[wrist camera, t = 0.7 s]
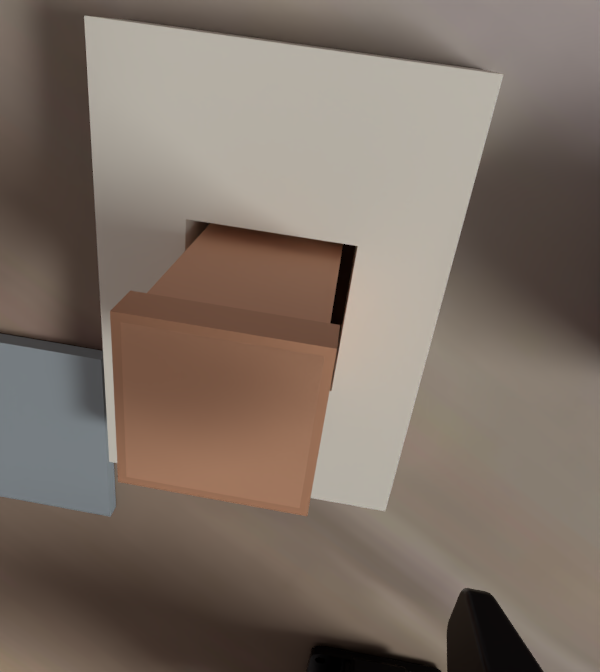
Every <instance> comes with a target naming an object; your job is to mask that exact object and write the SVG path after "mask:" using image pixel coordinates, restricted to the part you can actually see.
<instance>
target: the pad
mask: <svg viewBox="0 0 600 672" xmlns="http://www.w3.org/2000/svg"><path fill="white" fill-rule="evenodd" d="M0 496H2V497H7V498H12V499H18V500H23V501H29V502H34V503H40V504H45V505H50V506H56V507H61V508H67V509H72V510H78V511H83V512H88V513H94V514H99V515H105V516H111V514H112V513H113V511H114V509H115V507H116V497H115V478H114V463H113V462H109V449H108V431H107V413H106V395H105V378H104V360H103V351H101V350H95V349H89V348H83V347H77V346H71V345H65V344H60V343H54V342H48V341H42V340H36V339H30V338H24V337H18V336H12V335H7V334H1V333H0Z"/></svg>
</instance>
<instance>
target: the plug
mask: <svg viewBox="0 0 600 672" xmlns="http://www.w3.org/2000/svg"><path fill="white" fill-rule="evenodd" d="M342 247H343V244H341V243H335V242H328V241H322V240H316V239H309V238H303V237H297V236H290V235H284V234H278V233H271V232H265V231H258V230H252V229H246V228H239V227H233V226H227V225H220V224H214V223H210V224H209V225H208V226H207V227H206V229H205V230H204V231H203V232H202V233H201V234H200V235H199V236H198V237H197V238H196V240H195V241H194V242H193V243H192V244H191V245H190V246H189V247H188V248H187V249H186V251H185V252H184V253H183V254H182V255H181V256H180V257H179V258H178V259H177V260H176V262H175V263H174V264H173V265H172V266H171V267H170V268H169V269H168V270H167V271H166V273H165V274H164V275H163V276H162V277H161V278H160V279H159V280H158V281H157V282H156V284H155V285H154V286H153V287H152V288H151V289H150V290H149V291H148V292H147V293H142V292H136V291H129V292H128V293H127V294H126V295H125V296H124V297H123V298H122V299H121V300H120V301H119V302H118V303H117V304H116V305H115V307H114V308H113V309H112V310H111V311H110V322H111V343H112V363H113V384H114V405H115V426H116V446H117V467H118V482H122V483H127V484H133V485H138V486H144V487H149V488H155V489H160V490H166V491H171V492H177V493H182V494H188V495H193V496H199V497H204V498H210V499H215V500H221V501H226V502H232V503H237V504H243V505H248V506H254V507H259V508H265V509H270V510H276V511H281V512H287V513H292V514H298V515H303V516H307V514H308V509H309V503H310V498H311V492H312V486H313V481H314V475H315V470H316V464H317V458H318V453H319V447H320V442H321V436H322V430H323V425H324V419H325V414H326V408H327V403H328V397H329V391H330V386H331V380H332V375H333V369H334V363H335V358H336V352H337V346H338V337H339V329H340V325H337V324H331V323H330V322H331V316H332V310H333V303H334V297H335V291H336V285H337V278H338V272H339V266H340V260H341V253H342Z"/></svg>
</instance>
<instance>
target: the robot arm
mask: <svg viewBox="0 0 600 672" xmlns="http://www.w3.org/2000/svg"><path fill="white" fill-rule="evenodd" d="M306 672H441V671H440V670H439V669H437V668H433V667H428V666H423V665H417V664H412V663H407V662H402V661H396V660H391V659H386V658H381V657H376V656H370V655H365V654H360V653H355V652H350V651H344V650H339V649H334V648H329V647H324V646H316V647H314V648H312V650H311V653H310V657H309V662H308V667H307V671H306ZM447 672H543V670H542V669H541V667H540V666H539V664H538V663H537V661H536V660H535V658H534V657H533V655H532V654H531V652H530V651H529V649H528V648H527V646H526V645H525V643H524V642H523V640H522V639H521V637H520V636H519V634H518V633H517V631H516V630H515V628H514V627H513V625H512V624H511V622H510V621H509V619H508V618H507V616H506V615H505V613H504V612H503V610H502V609H501V607H500V606H499V604H498V603H497V601H496V600H495V598H494V597H493V596H492V595H491V594H490V593H488V592H485V591H480V590H475V589H470V588H465V589H463V590H462V591H461V592H460V594H459V597H458V599H457V602H456V604H455V607H454V609H453V612H452V614H451V617H450V619H449V622H448V627H447Z"/></svg>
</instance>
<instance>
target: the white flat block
mask: <svg viewBox="0 0 600 672" xmlns="http://www.w3.org/2000/svg"><path fill="white" fill-rule="evenodd" d="M84 23H85V41H86V59H87V76H88V94H89V112H90V129H91V147H92V165H93V183H94V200H95V218H96V236H97V254H98V271H99V289H100V307H101V325H102V342H103V360H104V378H105V395H106V413H107V431H108V449H109V462H113V463H117V446H116V426H115V405H114V384H113V363H112V343H111V322H110V311H111V310H112V309H113V308H114V307H115V305H116V304H117V303H118V302H119V301H120V300H121V299H122V298H123V297H124V296H125V295H126V294H127V293H128V292H129V291H136V292H142V293H147V292H148V291H149V290H150V289H151V288H152V287H153V286H154V285H155V284H156V282H157V281H158V280H159V279H160V278H161V277H162V276H163V275H164V274H165V273H166V271H167V270H168V269H169V268H170V267H171V266H172V265H173V264H174V263H175V262H176V260H177V259H178V258H179V257H180V256H181V255H182V254H183V253H184V252H185V251H186V249H187V248H188V247H189V246H190V245H191V244H192V243H193V242H194V241H195V240H196V238H197V237H198V236H199V235H200V234H201V233H202V232H203V231H204V230H205V229H206V227H207V226H208V223H214V224H220V225H227V226H233V227H239V228H246V229H252V230H258V231H265V232H271V233H278V234H284V235H290V236H297V237H303V238H309V239H316V240H322V241H328V242H335V243H341V244H348V245H354V246H355V251H354V256H353V262H352V267H351V273H350V279H349V284H348V290H347V295H346V301H345V307H344V312H343V318H342V323H341V329H340V335H339V340H338V346H337V352H336V358H335V363H334V369H333V375H332V380H331V386H330V391H329V397H328V403H327V408H326V414H325V419H324V425H323V430H322V436H321V442H320V447H319V453H318V458H317V464H316V470H315V475H314V481H313V486H312V492H311V498H314V499H319V500H325V501H331V502H336V503H342V504H347V505H353V506H359V507H364V508H370V509H375V510H381V511H385V510H386V506H387V503H388V499H389V495H390V492H391V488H392V484H393V481H394V477H395V473H396V470H397V466H398V462H399V458H400V455H401V451H402V447H403V444H404V440H405V436H406V433H407V429H408V425H409V422H410V418H411V414H412V411H413V407H414V403H415V399H416V396H417V392H418V388H419V385H420V381H421V377H422V374H423V370H424V366H425V363H426V359H427V355H428V351H429V348H430V344H431V340H432V337H433V333H434V329H435V326H436V322H437V318H438V315H439V311H440V307H441V304H442V300H443V296H444V292H445V289H446V285H447V281H448V278H449V274H450V270H451V267H452V263H453V259H454V256H455V252H456V248H457V244H458V241H459V237H460V233H461V230H462V226H463V222H464V219H465V215H466V211H467V208H468V204H469V200H470V197H471V193H472V189H473V185H474V182H475V178H476V174H477V171H478V167H479V163H480V160H481V156H482V152H483V149H484V145H485V141H486V137H487V134H488V130H489V126H490V123H491V119H492V115H493V112H494V108H495V104H496V101H497V97H498V93H499V89H500V86H501V82H502V78H503V74H499V73H495V72H491V71H487V70H482V69H475V68H467V67H460V66H453V65H446V64H439V63H432V62H425V61H418V60H411V59H403V58H396V57H389V56H382V55H375V54H368V53H361V52H354V51H347V50H339V49H332V48H325V47H318V46H311V45H304V44H297V43H290V42H282V41H275V40H268V39H261V38H254V37H247V36H240V35H233V34H226V33H218V32H211V31H204V30H197V29H190V28H183V27H176V26H169V25H162V24H154V23H147V22H140V21H133V20H126V19H116V18H105V17H95V16H84Z"/></svg>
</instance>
